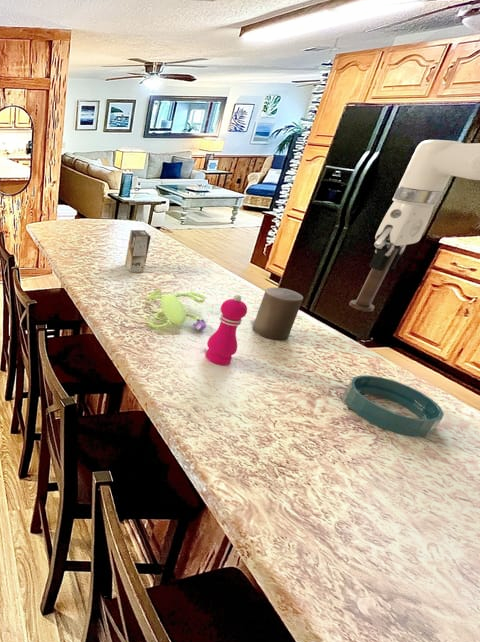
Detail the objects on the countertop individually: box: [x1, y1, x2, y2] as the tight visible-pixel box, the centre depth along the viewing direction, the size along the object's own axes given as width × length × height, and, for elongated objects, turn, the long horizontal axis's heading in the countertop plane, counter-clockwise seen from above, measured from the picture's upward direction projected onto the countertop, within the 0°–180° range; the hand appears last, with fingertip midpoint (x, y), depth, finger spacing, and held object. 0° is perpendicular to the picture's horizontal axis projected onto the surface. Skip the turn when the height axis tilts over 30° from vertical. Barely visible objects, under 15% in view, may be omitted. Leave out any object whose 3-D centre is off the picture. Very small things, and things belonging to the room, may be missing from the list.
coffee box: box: [124, 229, 152, 273], centre depth 167 cm, size 9×6×16 cm
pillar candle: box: [252, 286, 304, 341], centre depth 119 cm, size 10×10×15 cm
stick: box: [348, 245, 398, 313], centre depth 101 cm, size 5×5×17 cm
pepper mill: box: [205, 294, 248, 366], centre depth 104 cm, size 7×7×20 cm
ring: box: [341, 374, 445, 438], centre depth 88 cm, size 15×15×6 cm
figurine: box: [146, 289, 207, 331], centre depth 130 cm, size 18×27×6 cm
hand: (380, 267), depth 99 cm, fingers closed on stick, 3 cm apart
